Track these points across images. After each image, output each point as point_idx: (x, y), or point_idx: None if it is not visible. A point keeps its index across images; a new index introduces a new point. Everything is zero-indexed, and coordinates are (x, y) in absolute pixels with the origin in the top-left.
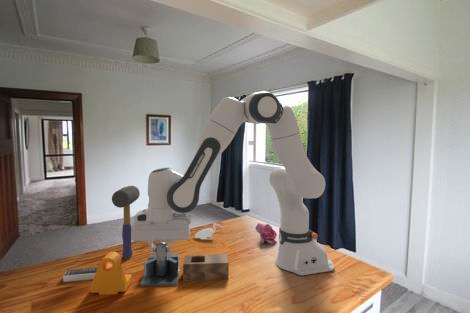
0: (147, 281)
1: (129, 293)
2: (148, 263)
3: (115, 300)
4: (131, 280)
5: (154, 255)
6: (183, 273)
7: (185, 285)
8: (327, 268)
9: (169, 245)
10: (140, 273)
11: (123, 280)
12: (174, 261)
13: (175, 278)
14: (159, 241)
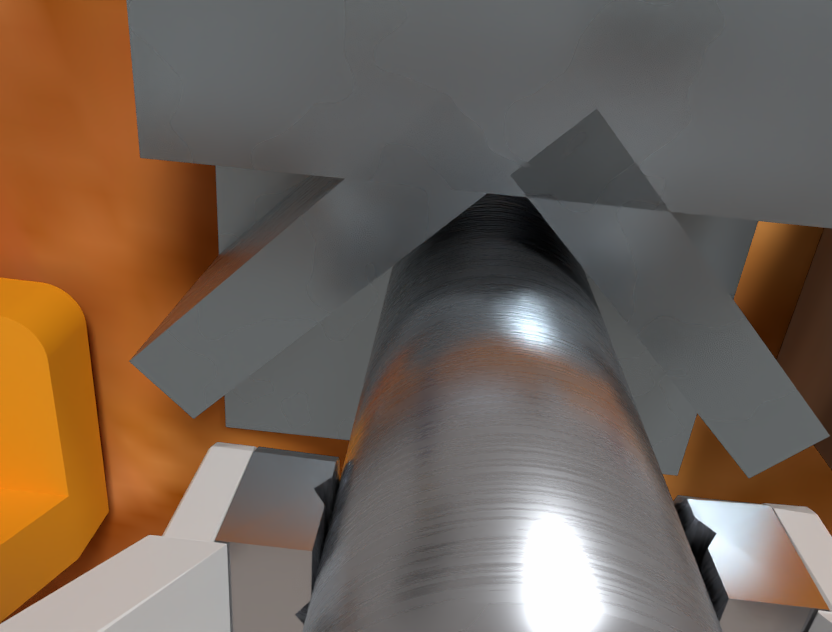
0: (304, 395)
1: (161, 497)
2: (232, 386)
3: (73, 569)
4: (82, 328)
5: (276, 38)
6: (819, 444)
7: (774, 475)
8: None
9: (796, 607)
10: (126, 61)
11: (19, 596)
12: (752, 430)
13: (676, 393)
14: (404, 624)
